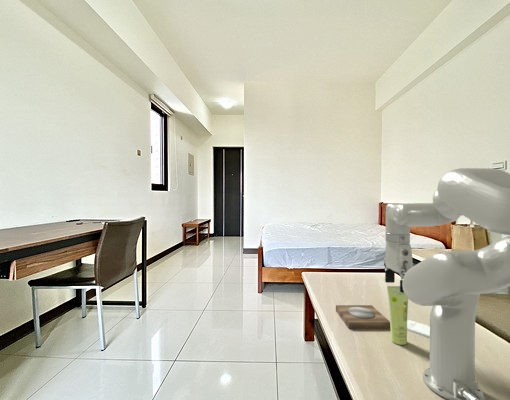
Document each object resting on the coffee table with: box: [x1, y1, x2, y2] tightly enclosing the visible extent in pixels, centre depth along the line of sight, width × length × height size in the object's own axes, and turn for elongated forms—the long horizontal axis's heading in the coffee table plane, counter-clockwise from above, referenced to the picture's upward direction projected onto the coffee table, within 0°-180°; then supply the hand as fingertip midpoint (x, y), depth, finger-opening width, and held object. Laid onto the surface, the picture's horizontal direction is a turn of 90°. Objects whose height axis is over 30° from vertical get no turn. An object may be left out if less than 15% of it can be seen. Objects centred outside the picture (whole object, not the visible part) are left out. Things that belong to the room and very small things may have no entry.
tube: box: [386, 285, 409, 346], centre depth 90 cm, size 6×5×20 cm
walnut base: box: [335, 304, 391, 330], centre depth 108 cm, size 16×16×3 cm
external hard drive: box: [407, 318, 430, 339], centre depth 98 cm, size 2×8×12 cm
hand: (397, 287), depth 91 cm, fingers open, 9 cm apart
